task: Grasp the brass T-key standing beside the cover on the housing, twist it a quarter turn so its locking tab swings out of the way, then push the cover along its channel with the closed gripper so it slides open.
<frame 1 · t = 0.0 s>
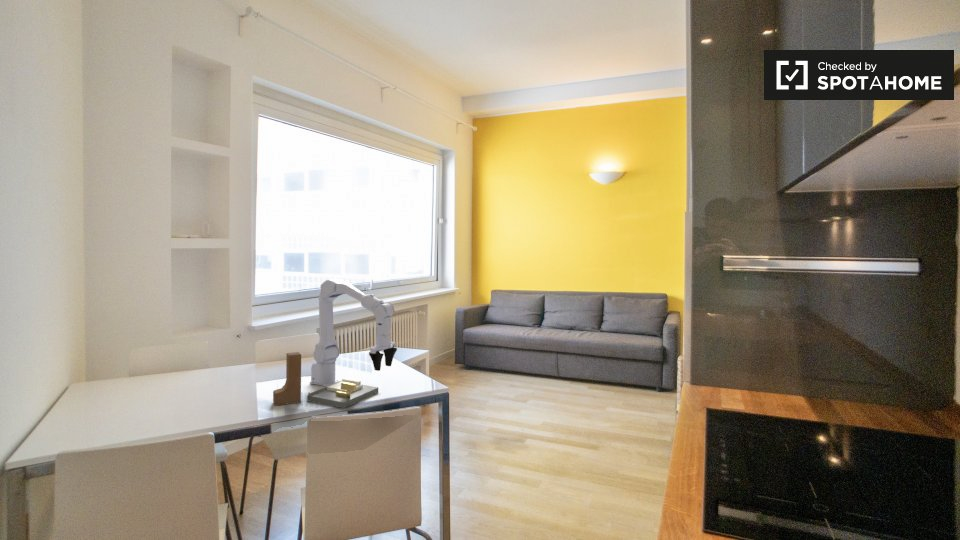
hand: (382, 368, 198), 10 cm above the table, fingers open, 7 cm apart
key: (345, 389, 187), point 5 cm above the table, hinge at 0.0°
wooden block: (287, 402, 185), on the table
cover: (345, 385, 196), point 3 cm above the table, slide at 0.0 cm
housing: (343, 396, 193), on the table
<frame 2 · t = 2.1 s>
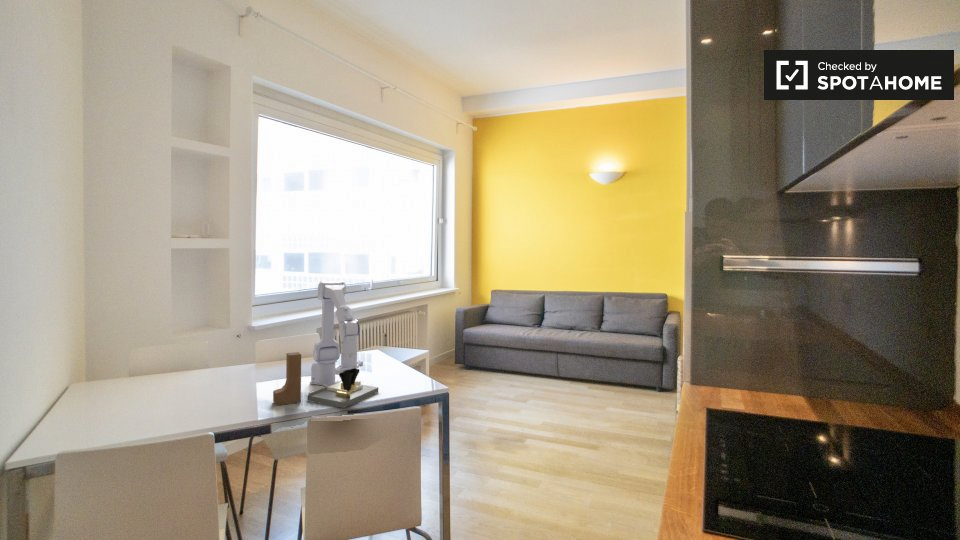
hand: (348, 389, 186), 5 cm above the table, fingers closed on key
key: (345, 389, 187), point 5 cm above the table, hinge at 0.0°, touching gripper
everything else where it was.
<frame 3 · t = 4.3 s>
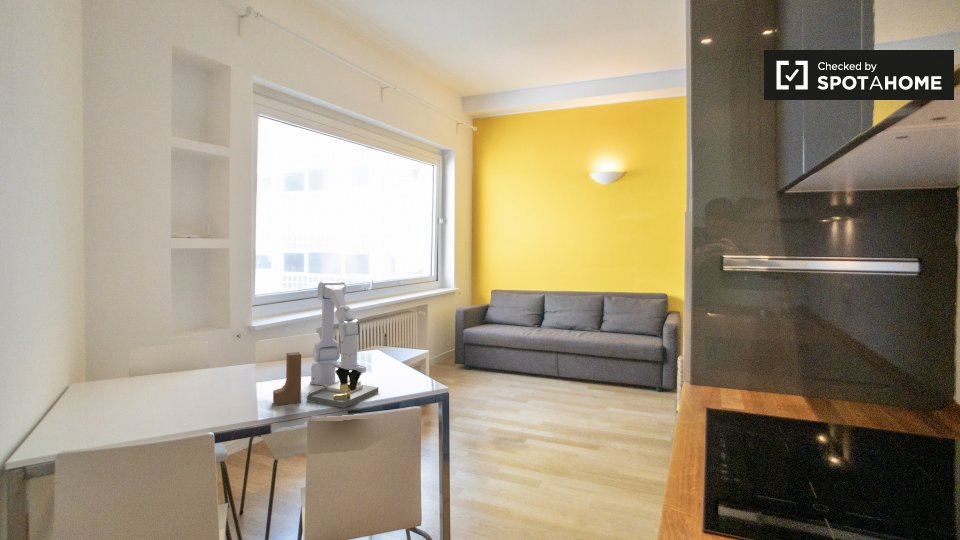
hand: (348, 389, 186), 5 cm above the table, fingers closed on key, 3 cm apart
key: (345, 390, 186), point 5 cm above the table, hinge at 54.2°, touching gripper
everything else where it was.
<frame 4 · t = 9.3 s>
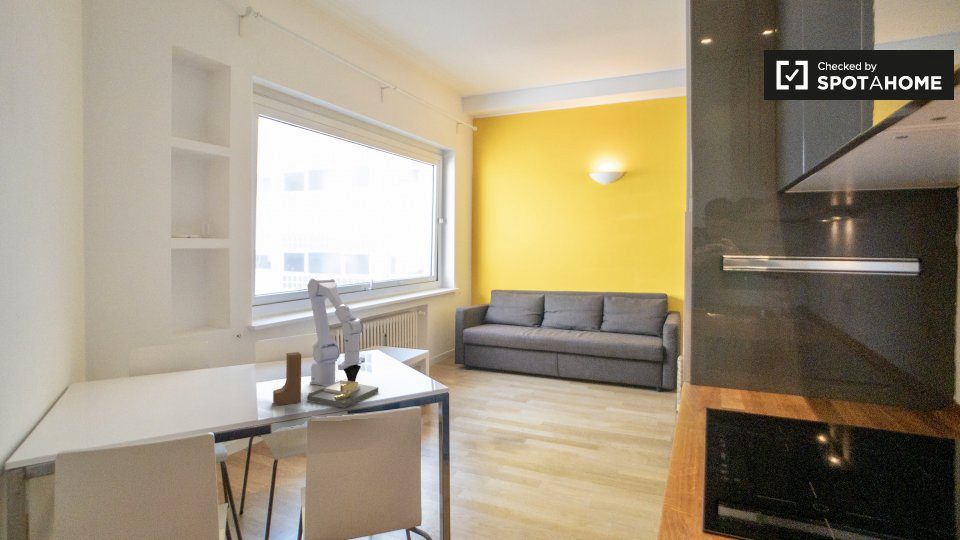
hand: (351, 383, 200), 3 cm above the table, fingers closed
key: (345, 391, 185), point 5 cm above the table, hinge at 71.2°
cover: (342, 386, 195), point 3 cm above the table, slide at 1.6 cm, touching gripper
everything else where it was.
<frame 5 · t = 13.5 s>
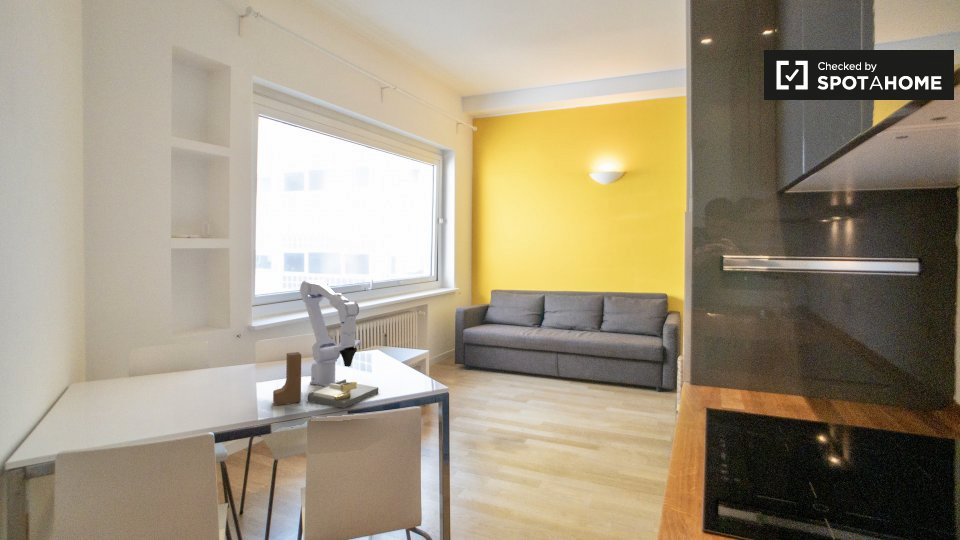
hand: (347, 366, 200), 10 cm above the table, fingers closed
cover: (332, 390, 189), point 3 cm above the table, slide at 7.6 cm
everything else where it was.
at the end: key at +71° (first picture: +0°); cover slide at 7.6 cm; the gripper is holding nothing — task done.
